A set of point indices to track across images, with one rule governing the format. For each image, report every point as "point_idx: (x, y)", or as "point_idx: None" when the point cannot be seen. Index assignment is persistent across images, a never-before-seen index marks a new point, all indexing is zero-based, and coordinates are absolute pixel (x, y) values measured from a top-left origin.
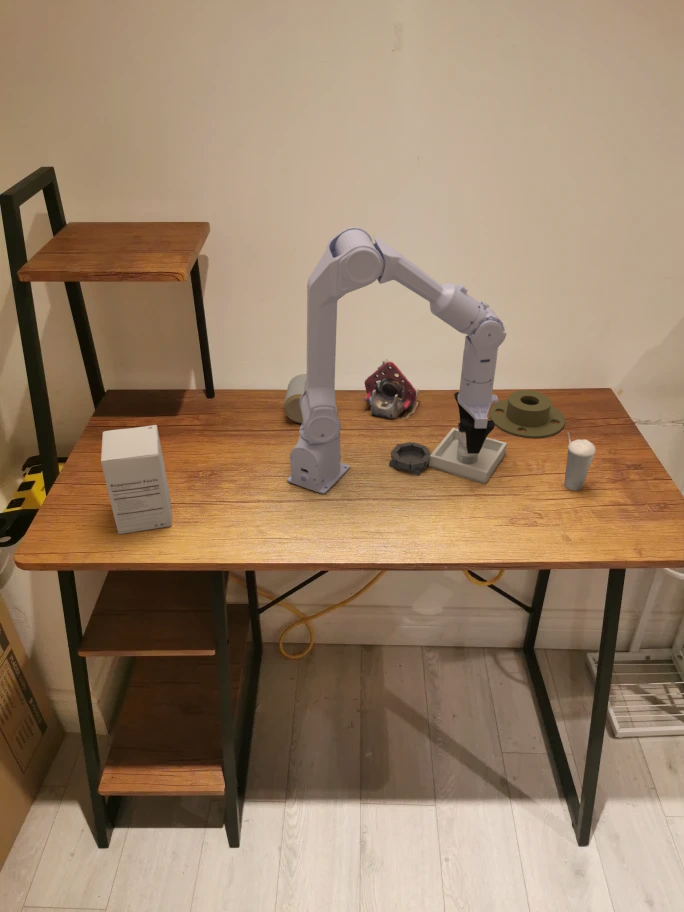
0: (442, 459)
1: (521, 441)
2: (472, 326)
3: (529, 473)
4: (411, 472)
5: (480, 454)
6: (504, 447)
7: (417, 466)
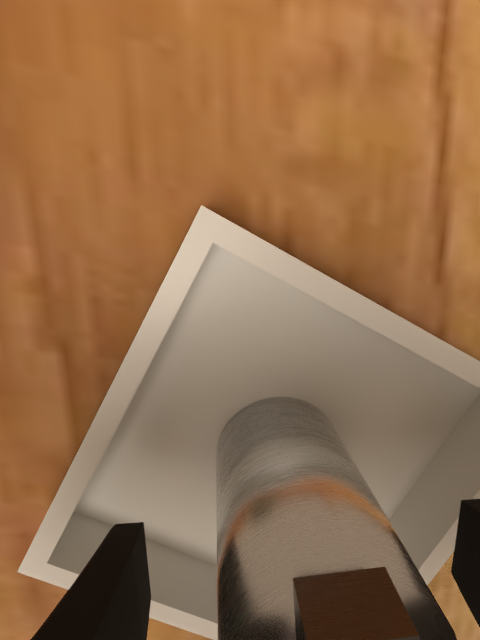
0: None
1: (26, 50)
2: None
3: (428, 83)
4: None
5: (239, 377)
6: (258, 237)
7: None
